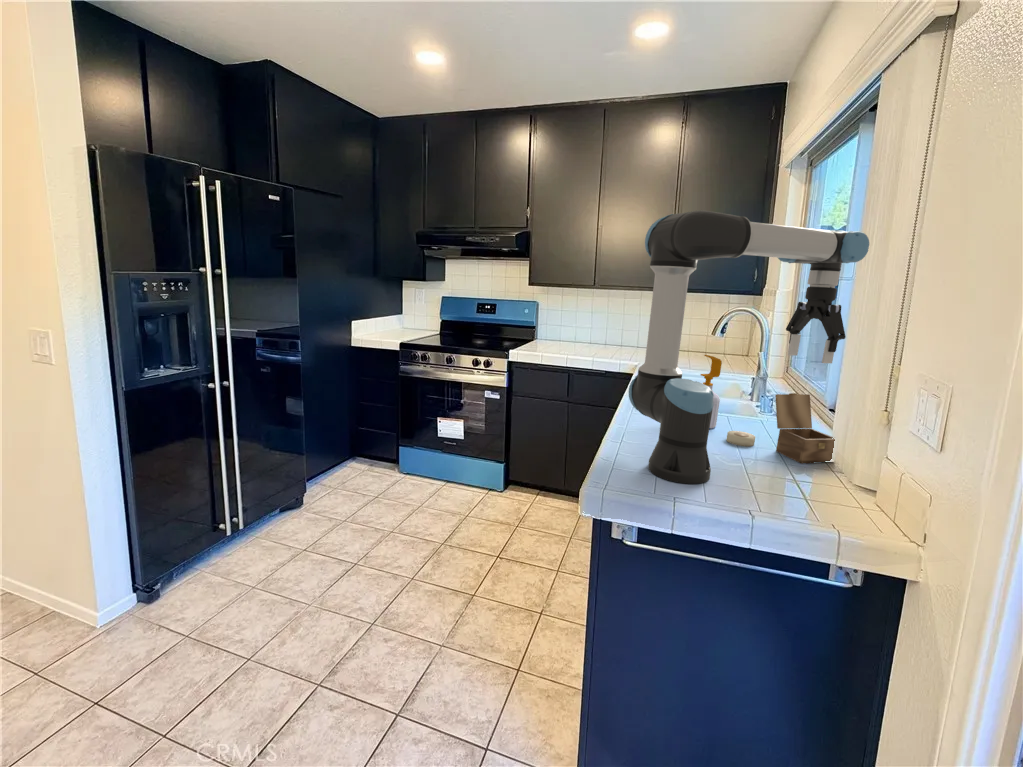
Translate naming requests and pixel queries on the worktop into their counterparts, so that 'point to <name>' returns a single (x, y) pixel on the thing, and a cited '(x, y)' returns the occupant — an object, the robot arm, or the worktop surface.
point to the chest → (805, 445)
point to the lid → (793, 411)
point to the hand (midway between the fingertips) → (808, 359)
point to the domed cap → (740, 438)
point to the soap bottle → (716, 400)
